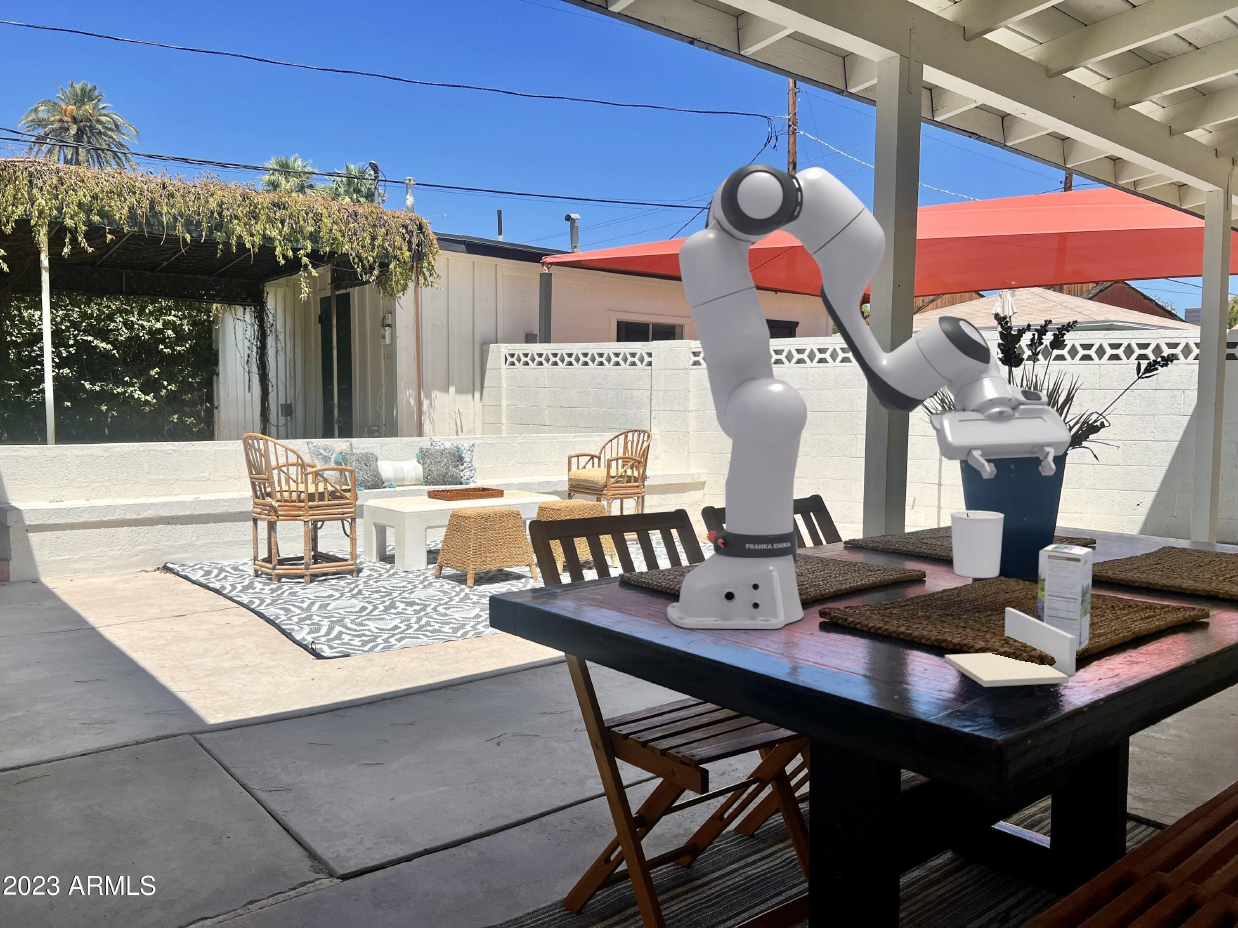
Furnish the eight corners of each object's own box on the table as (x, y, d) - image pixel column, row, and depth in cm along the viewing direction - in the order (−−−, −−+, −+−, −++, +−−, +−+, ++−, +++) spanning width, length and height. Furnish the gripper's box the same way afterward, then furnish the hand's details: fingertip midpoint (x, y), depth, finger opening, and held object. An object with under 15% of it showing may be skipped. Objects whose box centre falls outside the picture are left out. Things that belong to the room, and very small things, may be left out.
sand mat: (984, 686, 113) (984, 680, 112) (944, 660, 123) (944, 654, 123) (1068, 682, 114) (1068, 676, 113) (1021, 656, 124) (1021, 651, 124)
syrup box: (1046, 641, 132) (1048, 542, 131) (1091, 648, 128) (1093, 546, 127) (1035, 650, 127) (1037, 548, 126) (1081, 658, 124) (1083, 552, 122)
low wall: (1069, 675, 116) (1069, 637, 116) (1004, 641, 132) (1005, 607, 132) (1075, 675, 116) (1075, 637, 116) (1010, 641, 132) (1010, 607, 132)
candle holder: (955, 567, 186) (955, 509, 185) (1006, 571, 181) (1007, 512, 180) (945, 576, 178) (946, 515, 177) (999, 580, 173) (999, 518, 172)
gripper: (932, 397, 144) (961, 464, 135) (1055, 392, 145) (1091, 458, 137) (920, 424, 148) (948, 490, 140) (1039, 419, 150) (1074, 484, 141)
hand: (1020, 474), depth 138 cm, fingers open, 8 cm apart
